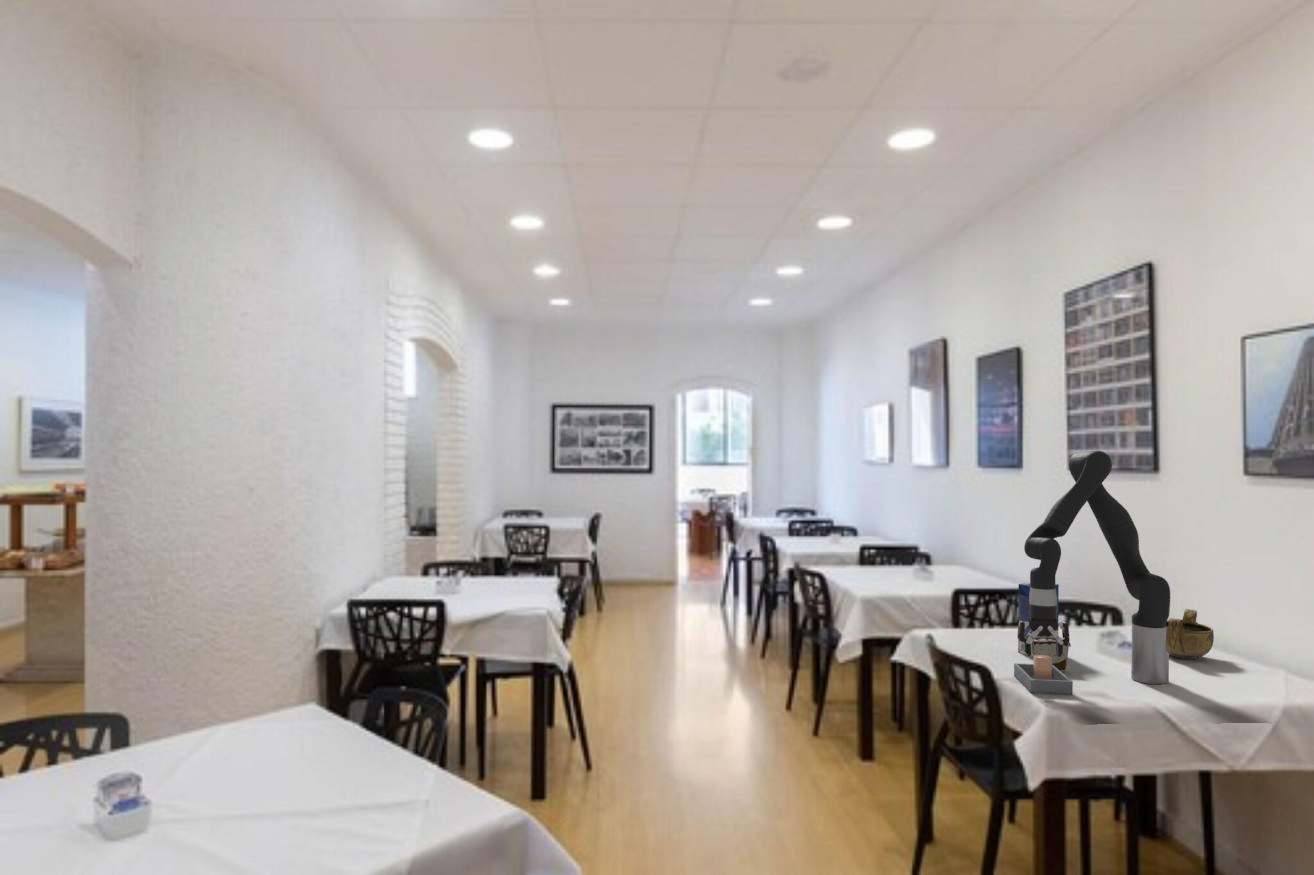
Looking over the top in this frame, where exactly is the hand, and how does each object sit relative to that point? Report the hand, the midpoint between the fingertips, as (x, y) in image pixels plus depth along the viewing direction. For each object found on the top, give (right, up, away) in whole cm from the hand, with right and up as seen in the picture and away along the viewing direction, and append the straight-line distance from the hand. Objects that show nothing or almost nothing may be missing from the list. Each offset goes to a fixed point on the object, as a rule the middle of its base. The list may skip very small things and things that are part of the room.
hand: (1043, 655), depth 248 cm
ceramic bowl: (+64, -10, +33) cm, 72 cm away
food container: (+10, -9, +19) cm, 23 cm away
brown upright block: (0, -9, 0) cm, 9 cm away
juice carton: (+16, -9, +38) cm, 42 cm away
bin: (0, -9, 0) cm, 9 cm away
